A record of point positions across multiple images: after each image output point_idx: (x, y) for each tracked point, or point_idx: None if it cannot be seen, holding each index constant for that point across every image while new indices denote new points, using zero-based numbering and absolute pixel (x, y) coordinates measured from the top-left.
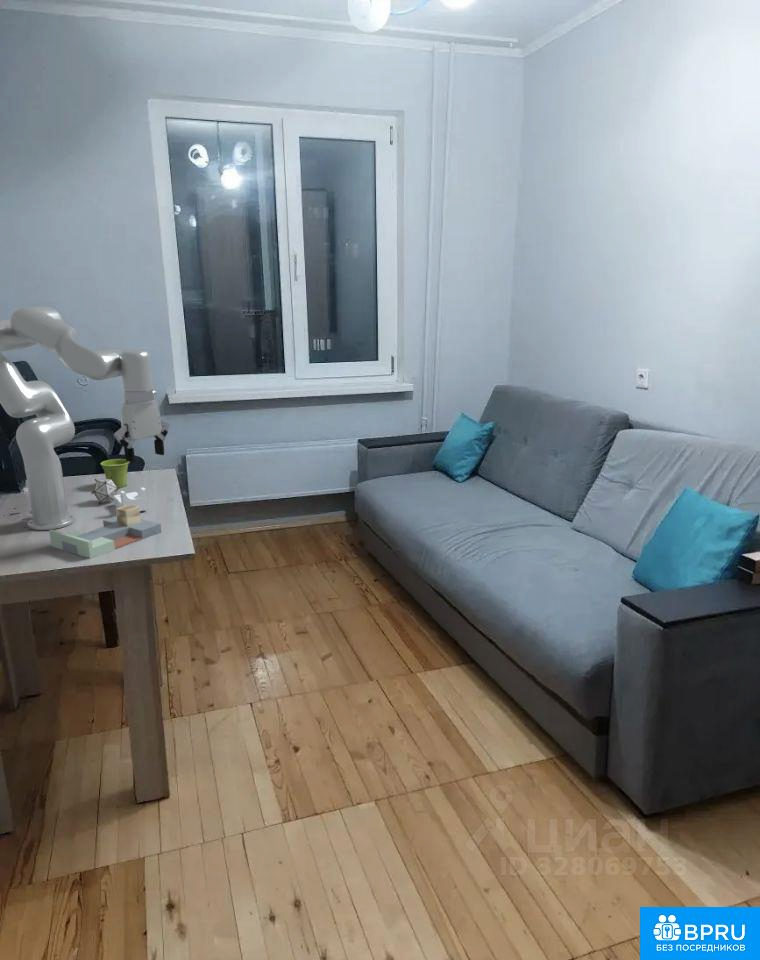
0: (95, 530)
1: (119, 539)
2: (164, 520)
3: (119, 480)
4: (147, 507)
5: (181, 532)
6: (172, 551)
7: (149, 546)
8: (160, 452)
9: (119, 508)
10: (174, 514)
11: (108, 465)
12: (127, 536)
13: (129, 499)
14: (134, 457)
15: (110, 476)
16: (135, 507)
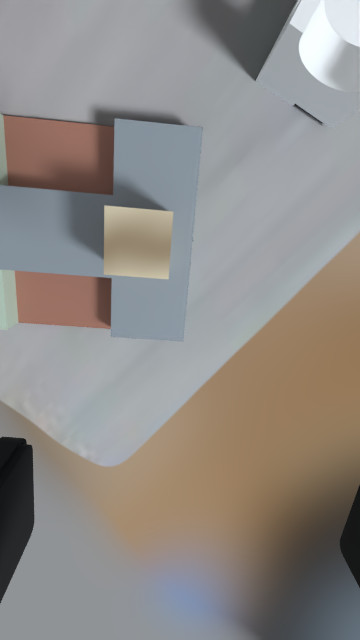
0: (26, 195)
1: (69, 279)
2: (269, 261)
3: None
4: (335, 124)
5: (206, 379)
6: (95, 448)
7: (87, 381)
8: (355, 554)
9: (114, 219)
10: (331, 246)
11: None
12: (98, 281)
13: (300, 64)
14: (11, 570)
15: None
16: (156, 270)
